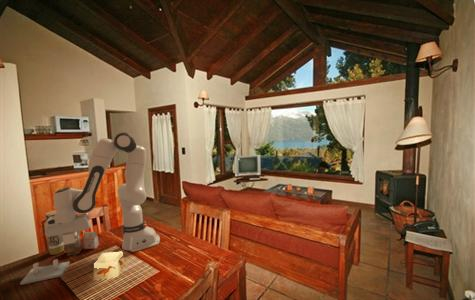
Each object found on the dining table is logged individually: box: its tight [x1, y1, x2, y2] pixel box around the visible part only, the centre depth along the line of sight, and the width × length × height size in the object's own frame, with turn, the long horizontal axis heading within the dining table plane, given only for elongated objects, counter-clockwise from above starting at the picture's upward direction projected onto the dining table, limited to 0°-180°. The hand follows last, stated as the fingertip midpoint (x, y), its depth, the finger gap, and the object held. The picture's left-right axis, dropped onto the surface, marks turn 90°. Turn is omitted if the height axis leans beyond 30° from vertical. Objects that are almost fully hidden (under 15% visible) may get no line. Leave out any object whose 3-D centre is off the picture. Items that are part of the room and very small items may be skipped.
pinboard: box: [19, 258, 71, 286], centre depth 109 cm, size 16×11×6 cm
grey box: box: [82, 231, 99, 250], centre depth 133 cm, size 4×7×10 cm, turn 93°
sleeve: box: [63, 232, 78, 248], centre depth 120 cm, size 5×5×7 cm
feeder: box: [66, 236, 83, 256], centre depth 127 cm, size 6×5×8 cm
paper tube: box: [45, 209, 65, 256], centre depth 127 cm, size 7×7×25 cm
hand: (70, 239), depth 120 cm, fingers closed on sleeve, 5 cm apart
